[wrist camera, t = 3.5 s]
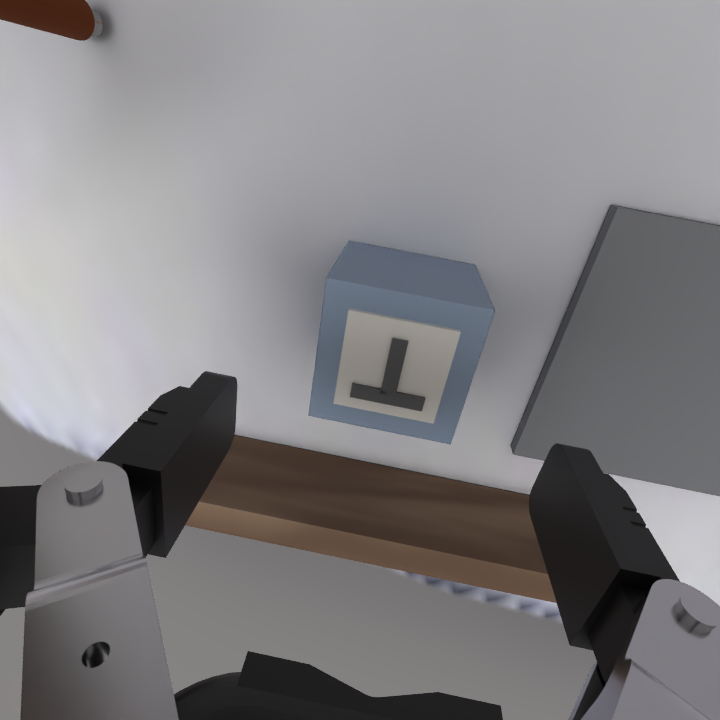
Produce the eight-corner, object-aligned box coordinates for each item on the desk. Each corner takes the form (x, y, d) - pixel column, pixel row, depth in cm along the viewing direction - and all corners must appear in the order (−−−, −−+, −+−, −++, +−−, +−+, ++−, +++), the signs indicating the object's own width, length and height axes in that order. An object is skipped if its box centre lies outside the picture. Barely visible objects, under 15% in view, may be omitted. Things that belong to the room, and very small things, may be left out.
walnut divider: (152, 418, 22) (96, 480, 19) (582, 506, 22) (619, 589, 18) (154, 443, 23) (100, 507, 19) (570, 528, 23) (602, 612, 19)
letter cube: (349, 240, 17) (324, 280, 13) (474, 264, 17) (496, 314, 13) (332, 351, 20) (306, 420, 15) (443, 373, 20) (451, 449, 15)
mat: (611, 204, 16) (617, 207, 15) (924, 264, 15) (942, 269, 15) (510, 446, 21) (513, 454, 20) (743, 493, 21) (752, 502, 20)
